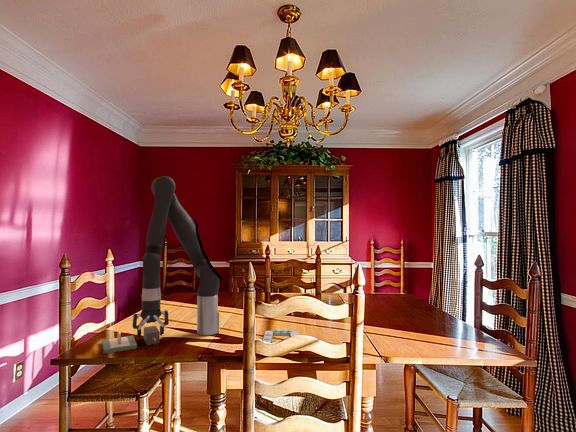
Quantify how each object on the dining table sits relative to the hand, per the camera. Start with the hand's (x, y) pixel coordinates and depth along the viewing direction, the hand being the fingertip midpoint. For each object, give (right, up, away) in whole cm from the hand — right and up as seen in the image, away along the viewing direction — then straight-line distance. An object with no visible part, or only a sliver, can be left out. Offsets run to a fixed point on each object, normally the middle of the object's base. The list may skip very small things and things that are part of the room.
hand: (150, 336), depth 159 cm
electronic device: (+55, -3, +2) cm, 56 cm away
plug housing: (+1, -2, -2) cm, 3 cm away
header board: (-11, -2, -6) cm, 12 cm away
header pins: (-11, 0, -6) cm, 12 cm away
